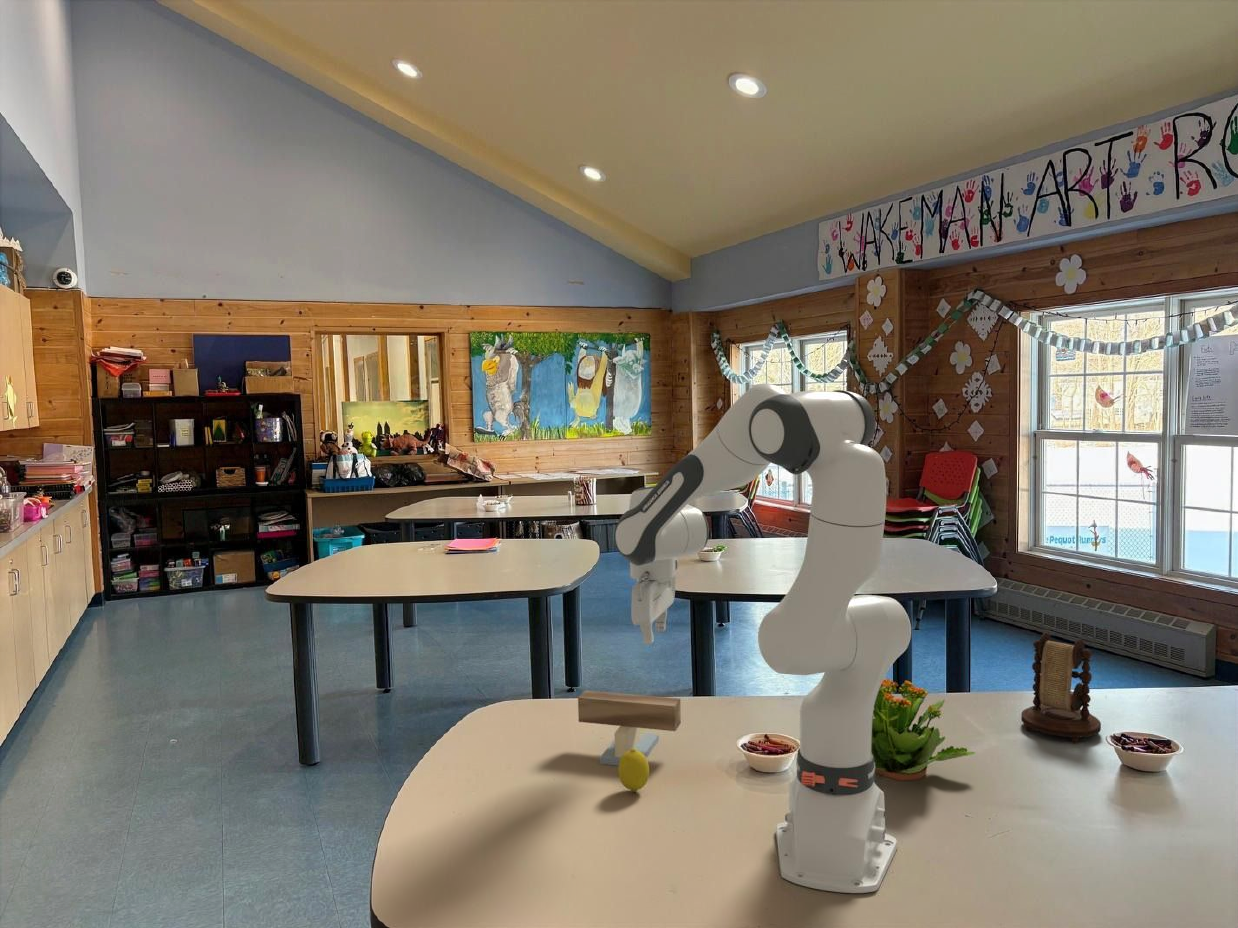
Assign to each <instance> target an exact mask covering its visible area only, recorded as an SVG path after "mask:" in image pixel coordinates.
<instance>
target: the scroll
mask: <svg viewBox="0 0 1238 928" xmlns="http://www.w3.org/2000/svg"><path fill="white" fill-rule="evenodd" d="M1032 646H1033V648H1034V650H1033V651H1034V652H1035V654H1034V657H1033V660H1034V661H1033V662H1032V665H1031V669H1032V670H1033V673H1034V678H1033V682H1034V683H1033V684H1032V690H1033V691H1034V692H1033V695H1034V697H1033V700H1032V703H1033V705H1032V706H1030V707H1027V708H1025V709H1023V710H1022V712H1021V713H1020V716H1021V718H1020V719H1021V722H1022V723H1023V724H1024V728H1025V730H1026V731H1028V732H1029V731H1030V729H1032V730H1034V731H1038V732H1040V733H1044V734H1046V735H1047V734H1048V735H1051V736H1055V737H1056V736H1057V737H1066V738H1071V740H1072V742H1073V743H1074V744H1076V743H1078V740H1079V738H1085V737H1086V738H1087V737H1092V736H1096V735H1098V734H1099V733H1100V732H1101V731H1102V726H1101V725H1102V724H1101V721H1100V720H1099V718H1097V717H1096V716H1095V715H1093V714H1092V713H1090V711H1089V707H1090V702H1091V699H1092V698H1091V696H1090V695H1089V693H1090V686H1089V684H1090V682H1091V681H1092V677H1093V675H1092V673H1091V672H1090V671H1091V667H1090V666H1091V665H1090V662H1091V659H1090V658H1091V657H1092V652H1091V650H1090V649H1088V648H1086V646H1085V642H1084V641H1083V639H1082V638H1078V639H1076V640H1075V642H1074V644H1073V645H1072V644H1068V643H1064V642H1063V643H1062V642H1057V641H1052V638H1051V634H1050V633H1049V632H1044V633H1042V635H1041V636H1040V639H1036V640H1034V641H1033V643H1032ZM1081 664H1082V665H1081ZM1080 666H1081V670H1082V671H1081V672H1078V671H1076V670H1077V669H1079V667H1080ZM1072 678H1073V679H1079V680H1080V681H1081V682H1078V683H1077V684H1076V685H1075V686H1074V688H1073V691H1072Z"/></svg>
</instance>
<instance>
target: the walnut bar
mask: <svg viewBox="0 0 1238 928" xmlns="http://www.w3.org/2000/svg"><path fill="white" fill-rule="evenodd" d="M577 706H578V707H577V708H578V709H577V710H578V715H577V716H578V723H584V724H585V723H587V724H598V725H605V726H606V725H608V726H616V727H617V726H618V727H620V726H626V727H636V728H644V729H648V730H649V729H650V730H659V731H660V730H661V731H670V732H676V731H677V729H678V728H679V726H680V725H681V720H682V719H681V717H682V715H681V711H682V709H681V708H682V707H681V698H677V697H666V696H656V695H654V696H653V695H643V694H642V695H641V694H634V693H633V694H631V693H620V692H609V691H595V690H584V691H583V692H581V694H579V696H578V697H577Z"/></svg>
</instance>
